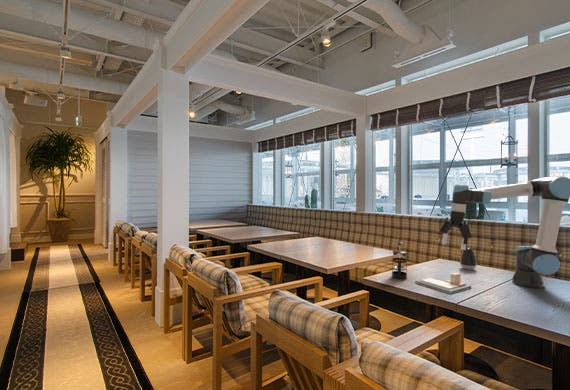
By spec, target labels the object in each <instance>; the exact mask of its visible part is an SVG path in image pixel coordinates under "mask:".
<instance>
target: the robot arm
mask: <svg viewBox="0 0 570 390" xmlns="http://www.w3.org/2000/svg"><path fill="white" fill-rule="evenodd" d="M469 186H470V185H467V184H458V183H457V184H455V185H453V191H452V192H453V193H452V201H451V207H450V213H449V216H450V217H445V221H444V222H443V224H442V226H441V227H440V229H439V232H441V233H442V235H441V245H447V241H448V235H449V234H448V233H449V231H450V230H451V229H452V228H453V227H455V228H457V229H459V231H460V233H461V236H462V238H461V243H460V250H461V251H462V250H465V248H467V247H466V246H467V245H468V240H469V239H472V234H471V230H470V227H469V220H464V219H465V218H466V217H465V216H466V210H467V209H466V208H467V203H473V204H474V203H476V204H483V205H484V204H485V205H488V204H490V203H491V202H492V200H499V199H500V200H501V199H508V198H509V199H510V198H517V197H525V196H526V197H528V198H531V197H541V201H542V202H543V206H542V211H541V216H540V219H539V224H538V229H537V233H536V241H535V244H534V245H518V246H517V247H516V254H515V256H516V257H515V260H516V262H515V272H514V274H513V276H512V277H511V282H512V284H514V285H516V286H520V287H525V288H530V289H531V288H533V289H542V288H544V286H545V285H544V284H545V283H544V279H543V277H542V275H545V276H548V275H553V274H555V273H556V272H558V271H559V270H560V267H561V262H560V260H559V258H558V254H559V253H558V250H557V249H556V244H557V239H558V235H559V230H560V225H561V222H562V221H561V220H562V215H563V212H564V207H565V205H566V204H568V203H569V200H570V178H569V177H566V176H557V175H556V176H547V177H546V176H544V177H540V178H537V179H532V180H526V181H524V182H522V183H521V182H520V183H515V184H514V183H512V184H506V185H497V186H492V187H491V186H490V187H489V186H488V187H482V188H480V187H479V188H475V189H473V188H470V187H469Z"/></svg>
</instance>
